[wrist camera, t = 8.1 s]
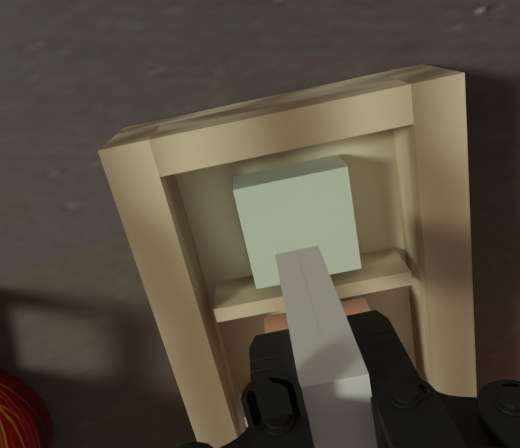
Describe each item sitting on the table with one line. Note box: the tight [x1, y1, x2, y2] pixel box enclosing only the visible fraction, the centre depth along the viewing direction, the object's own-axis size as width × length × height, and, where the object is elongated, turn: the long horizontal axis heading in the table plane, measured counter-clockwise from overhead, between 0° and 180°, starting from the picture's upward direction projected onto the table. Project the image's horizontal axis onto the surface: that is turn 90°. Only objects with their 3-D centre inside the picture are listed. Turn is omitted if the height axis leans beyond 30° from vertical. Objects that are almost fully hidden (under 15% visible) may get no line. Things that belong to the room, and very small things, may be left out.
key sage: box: [233, 154, 362, 289], centre depth 22 cm, size 5×5×2 cm
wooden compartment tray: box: [98, 64, 477, 448], centre depth 26 cm, size 14×30×4 cm, turn 12°
